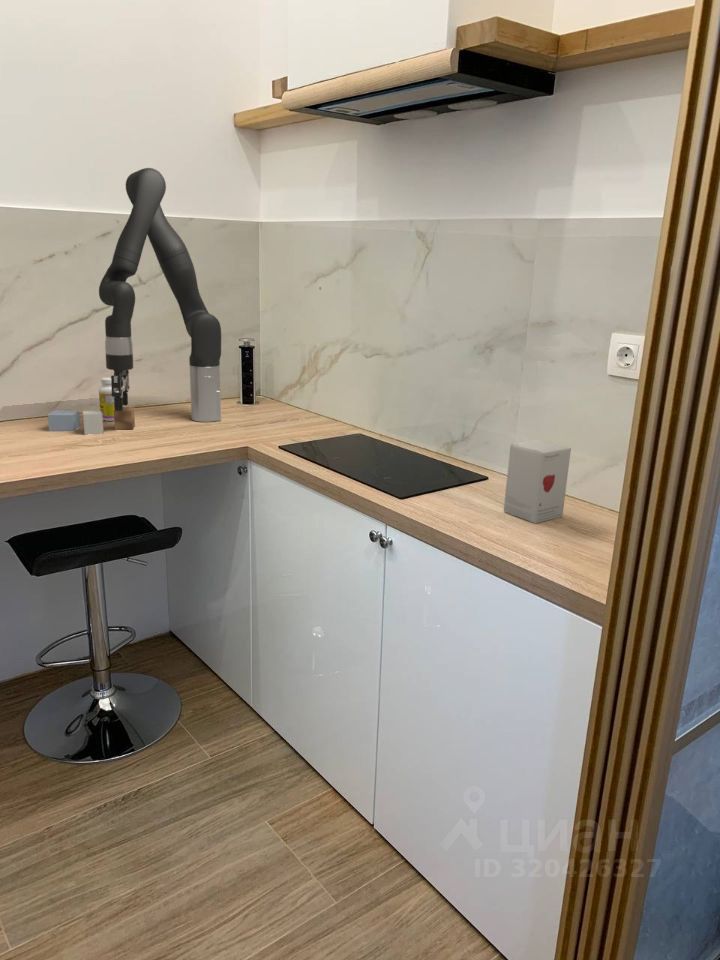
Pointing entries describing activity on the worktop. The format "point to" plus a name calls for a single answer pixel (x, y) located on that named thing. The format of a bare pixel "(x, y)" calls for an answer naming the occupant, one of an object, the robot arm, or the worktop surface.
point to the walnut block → (124, 419)
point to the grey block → (92, 422)
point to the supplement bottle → (106, 400)
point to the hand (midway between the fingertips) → (121, 407)
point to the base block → (64, 420)
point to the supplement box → (536, 480)
